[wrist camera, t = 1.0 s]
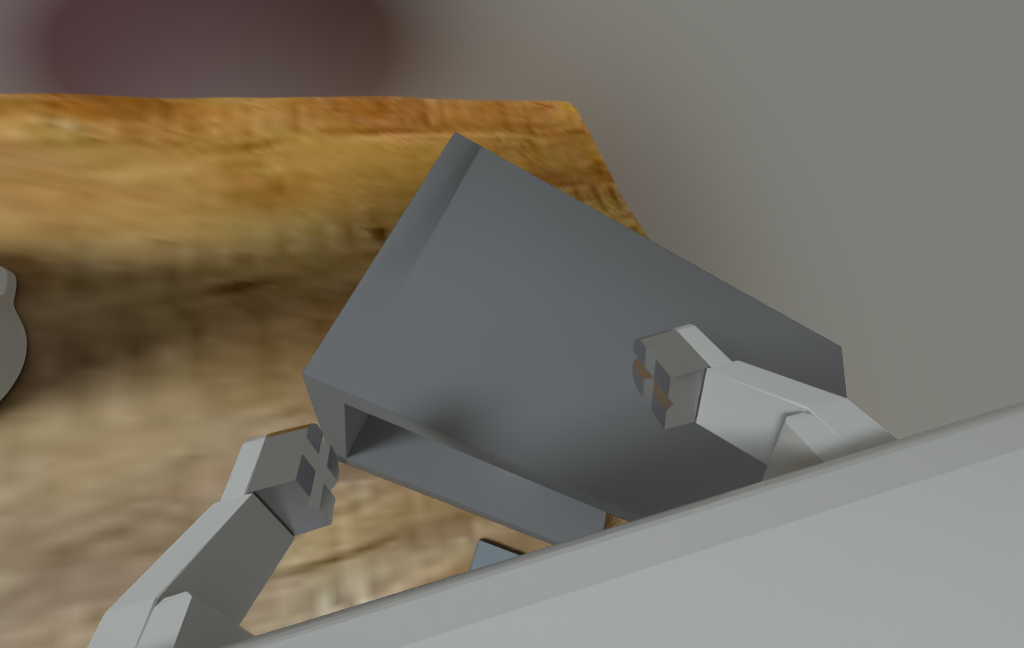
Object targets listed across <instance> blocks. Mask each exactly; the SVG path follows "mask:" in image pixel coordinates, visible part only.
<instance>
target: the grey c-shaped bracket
mask: <svg viewBox="0 0 1024 648" xmlns="http://www.w3.org/2000/svg"><path fill="white" fill-rule="evenodd" d="M687 324H692V325H695V326H696V327H697V328H698V329H699V330H700V331H701V332H702V333H703V334H704V335H705V336H706V337H707V338H708V339H709V340H710V341H711V342H712V343H713V344H714V345H716V346H717V347H718V348H719V349H720V350H721V351H722V352H723V353H724V354H725V355H726V356H727V357H728V358H729V359H730V360H731V361H732V362H733V361H737V360H738V361H741V362H744V363H747V364H750V365H753V366H756V367H758V368H761V369H764V370H767V371H770V372H773V373H776V374H778V375H781V376H784V377H787V378H790V379H793V380H796V381H798V382H801V383H804V384H807V385H810V386H813V387H816V388H818V389H821V390H824V391H827V392H830V393H833V394H836V395H838V396H841V397H844V398H847V396H846V386H845V377H844V367H843V358H842V348H841V346H839V345H837V344H835V343H834V342H832V341H830V340H828V339H826V338H825V337H823V336H821V335H819V334H817V333H816V332H814V331H812V330H810V329H809V328H807V327H805V326H803V325H801V324H800V323H798V322H796V321H794V320H792V319H791V318H788V317H787V316H785V315H783V314H782V313H780V312H778V311H776V310H774V309H772V308H771V307H769V306H767V305H765V304H764V303H762V302H760V301H758V300H756V299H755V298H753V297H751V296H749V295H747V294H746V293H744V292H742V291H740V290H738V289H736V288H735V287H733V286H731V285H729V284H728V283H726V282H724V281H722V280H720V279H719V278H717V277H715V276H713V275H711V274H710V273H708V272H706V271H704V270H702V269H701V268H699V267H697V266H695V265H694V264H692V263H690V262H688V261H686V260H684V259H683V258H681V257H679V256H677V255H676V254H674V253H672V252H670V251H668V250H666V249H665V248H663V247H661V246H659V245H658V244H656V243H654V242H652V241H650V240H649V239H647V238H645V237H643V236H641V235H640V234H638V233H636V232H634V231H632V230H631V229H629V228H627V227H625V226H623V225H622V224H620V223H618V222H616V221H614V220H613V219H611V218H609V217H607V216H605V215H604V214H602V213H600V212H598V211H596V210H595V209H593V208H591V207H589V206H587V205H586V204H584V203H582V202H580V201H579V200H577V199H575V198H573V197H571V196H570V195H568V194H566V193H564V192H562V191H561V190H559V189H557V188H555V187H553V186H552V185H550V184H548V183H546V182H544V181H543V180H541V179H539V178H537V177H535V176H534V175H532V174H530V173H528V172H526V171H525V170H523V169H521V168H519V167H517V166H516V165H514V164H512V163H510V162H508V161H507V160H505V159H503V158H501V157H499V156H498V155H496V154H494V153H492V152H490V151H489V150H487V149H485V148H483V147H481V146H480V145H478V144H476V143H474V142H472V141H471V140H469V139H467V138H465V137H464V136H462V135H460V134H458V133H456V132H455V133H454V134H453V136H452V137H451V139H450V141H449V142H448V144H447V145H446V147H445V148H444V150H443V152H442V153H441V155H440V156H439V158H438V159H437V161H436V163H435V164H434V166H433V167H432V169H431V171H430V172H429V174H428V175H427V177H426V178H425V180H424V182H423V183H422V185H421V186H420V188H419V189H418V191H417V193H416V194H415V196H414V197H413V199H412V200H411V202H410V204H409V205H408V207H407V208H406V210H405V212H404V213H403V215H402V216H401V218H400V219H399V221H398V223H397V224H396V226H395V227H394V229H393V230H392V232H391V234H390V235H389V237H388V238H387V240H386V242H385V243H384V245H383V246H382V248H381V249H380V251H379V253H378V254H377V256H376V257H375V259H374V260H373V262H372V264H371V265H370V267H369V268H368V270H367V272H366V273H365V275H364V276H363V278H362V279H361V281H360V283H359V284H358V286H357V287H356V289H355V290H354V292H353V294H352V295H351V297H350V298H349V300H348V301H347V303H346V305H345V306H344V308H343V309H342V311H341V313H340V314H339V316H338V317H337V319H336V320H335V322H334V324H333V325H332V327H331V328H330V330H329V331H328V333H327V335H326V336H325V338H324V339H323V341H322V343H321V344H320V346H319V347H318V349H317V350H316V352H315V354H314V355H313V357H312V358H311V360H310V361H309V363H308V365H307V366H306V368H305V369H304V371H303V372H302V375H303V378H304V381H305V384H306V387H307V389H308V392H309V395H310V398H311V401H312V404H313V407H314V410H315V413H316V416H317V419H318V422H319V425H320V428H321V431H322V432H323V436H324V439H325V442H326V443H329V444H331V446H332V448H333V449H334V451H335V453H336V456H337V459H338V461H340V462H343V463H345V464H348V465H350V466H353V467H355V468H358V469H361V470H363V471H366V472H368V473H371V474H373V475H376V476H378V477H381V478H384V479H386V480H389V481H391V482H394V483H396V484H399V485H402V486H404V487H407V488H409V489H412V490H414V491H417V492H419V493H422V494H425V495H427V496H430V497H432V498H435V499H437V500H440V501H443V502H445V503H448V504H450V505H453V506H455V507H458V508H460V509H463V510H466V511H468V512H471V513H473V514H476V515H478V516H481V517H483V518H486V519H489V520H491V521H494V522H496V523H499V524H501V525H504V526H507V527H509V528H512V529H514V530H517V531H519V532H522V533H524V534H527V535H530V536H532V537H535V538H537V539H540V540H542V541H545V542H547V543H550V544H553V545H555V544H559V543H562V542H565V541H569V540H572V539H575V538H578V537H582V536H585V535H588V534H591V533H595V532H598V531H601V530H603V529H604V523H605V518H606V512H607V513H609V514H611V515H614V516H616V517H619V518H621V519H623V520H626V521H628V522H631V521H634V520H637V519H640V518H644V517H647V516H650V515H654V514H657V513H660V512H663V511H667V510H670V509H673V508H676V507H680V506H683V505H686V504H690V503H693V502H696V501H699V500H703V499H706V498H709V497H712V496H716V495H719V494H722V493H726V492H729V491H732V490H735V489H739V488H742V487H745V486H748V485H752V484H755V483H758V482H761V481H762V478H763V476H764V473H765V471H766V468H767V465H766V464H764V463H763V462H761V461H759V460H758V459H756V458H754V457H753V456H751V455H749V454H748V453H746V452H744V451H743V450H741V449H739V448H738V447H736V446H734V445H732V444H731V443H729V442H727V441H726V440H724V439H722V438H721V437H719V436H717V435H716V434H714V433H712V432H711V431H709V430H707V429H706V428H704V427H702V426H700V425H699V424H697V423H696V421H695V422H691V423H687V424H683V425H679V426H676V427H672V428H668V429H664V428H663V427H662V425H661V424H660V422H659V421H658V419H657V418H656V416H655V415H654V413H653V412H652V411H651V405H652V402H651V401H649V400H647V399H645V398H643V397H642V396H641V394H640V393H639V391H638V389H637V387H636V385H635V382H634V378H633V374H632V363H633V362H634V361H635V359H636V358H637V356H636V354H635V353H634V352H633V343H634V341H635V339H636V338H640V337H644V336H648V335H651V334H655V333H659V332H662V331H666V330H671V329H673V328H676V327H680V326H684V325H687Z"/></svg>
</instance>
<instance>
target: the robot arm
mask: <svg viewBox="0 0 1024 648" xmlns="http://www.w3.org/2000/svg"><path fill="white" fill-rule="evenodd" d="M16 284H17V282H16V276H15V275H14V273H13V272H11V271H9V270H8V269H6V268H4V267H2V266H0V401H1V400H2V398H3V397H4V396H5V395H6V394H7V393H8V391H9V390H10V389H11V387H12V386H13V384H14V383H15V381H16V380H17V378H18V376H19V374H20V372H21V369H22V367H23V364H24V361H25V357H26V350H27V339H26V333H25V329H24V327H23V324H22V322H21V320H20V318H19V316H18V314H17V312H16V310H15V307H14V303H13V302H14V298H15V292H16ZM633 352H634V353H635V354H636V356H637V358H636V359H635V361H634V362H633V363H632V374H633V378H634V382H635V385H636V387H637V389H638V391H639V393H640V394H641V396H642V397H643V398H645V399H647V400H649V401H651V402H652V405H651V411H652V412H653V413H654V415H655V416H656V418H657V419H658V421H659V422H660V424H661V425H662V427H663V428H664V429H668V428H672V427H676V426H679V425H683V424H687V423H691V422H695V421H696V423H697V424H699V425H700V426H702V427H704V428H706V429H707V430H709V431H711V432H712V433H714V434H716V435H717V436H719V437H721V438H722V439H724V440H726V441H727V442H729V443H731V444H732V445H734V446H736V447H738V448H739V449H741V450H743V451H744V452H746V453H748V454H749V455H751V456H753V457H754V458H756V459H758V460H759V461H761V462H763V463H764V464H766V465H767V468H766V471H765V473H764V476H763V478H762V481H761V482H758V483H755V484H752V485H748V486H745V487H742V488H739V489H735V490H732V491H729V492H726V493H722V494H719V495H716V496H712V497H709V498H706V499H703V500H699V501H696V502H693V503H690V504H686V505H683V506H680V507H676V508H673V509H670V510H667V511H663V512H660V513H657V514H654V515H650V516H647V517H644V518H640V519H637V520H634V521H631V522H627V523H624V524H621V525H618V526H614V527H611V528H608V529H604V530H601V531H598V532H595V533H591V534H588V535H585V536H582V537H578V538H575V539H572V540H569V541H565V542H562V543H559V544H555V545H552V546H549V547H546V548H542V549H539V550H536V551H533V552H529V553H526V554H523V555H520V556H516V557H513V558H510V559H507V560H503V561H500V562H497V563H494V564H490V565H487V566H484V567H481V568H477V569H474V570H471V571H467V572H464V573H461V574H458V575H454V576H451V577H448V578H445V579H441V580H438V581H435V582H432V583H428V584H425V585H422V586H419V587H415V588H412V589H409V590H405V591H402V592H399V593H396V594H392V595H389V596H386V597H383V598H379V599H376V600H373V601H369V602H366V603H363V604H360V605H356V606H353V607H350V608H347V609H343V610H340V611H337V612H333V613H330V614H327V615H324V616H320V617H317V618H314V619H311V620H307V621H304V622H301V623H297V624H294V625H291V626H288V627H284V628H281V629H278V630H275V631H271V632H268V633H265V634H261V635H258V636H254V635H253V634H251V633H250V632H248V631H247V630H245V629H244V628H242V627H241V626H239V624H240V623H241V621H242V620H243V618H244V617H245V615H246V613H247V612H248V610H249V609H250V607H251V606H252V604H253V602H254V601H255V599H256V598H257V596H258V595H259V593H260V592H261V590H262V588H263V587H264V585H265V584H266V582H267V581H268V579H269V577H270V576H271V574H272V573H273V571H274V570H275V568H276V567H277V565H278V563H279V562H280V560H281V559H282V557H283V556H284V554H285V552H286V551H287V549H288V548H289V546H290V545H291V543H292V542H293V540H294V538H295V537H294V536H296V535H299V534H302V533H305V532H309V531H312V530H315V529H318V528H321V527H325V526H328V525H331V523H332V516H333V509H334V502H335V497H334V496H333V495H332V493H331V492H330V491H331V489H332V488H333V487H334V486H335V484H336V483H337V482H338V473H339V468H338V459H337V456H336V453H335V451H334V449H333V448H332V446H331V444H329V443H326V442H324V441H321V440H322V435H323V432H322V431H321V429H320V428H319V427H318V425H317V424H312V423H311V424H307V425H303V426H299V427H295V428H290V429H286V430H282V431H278V432H274V433H270V434H267V435H263V436H259V437H254V438H250V439H248V440H247V441H246V442H245V443H244V444H243V445H242V448H241V450H240V453H239V455H238V458H237V460H236V463H235V465H234V468H233V470H232V473H231V476H230V478H229V481H228V483H227V486H226V488H225V491H224V493H223V496H222V498H221V501H220V502H217V503H214V504H212V505H211V506H210V507H209V508H208V509H207V510H206V511H205V512H204V513H203V514H202V515H201V517H200V518H199V519H198V520H197V521H196V522H195V523H194V524H193V525H192V526H191V527H190V528H189V529H188V530H187V531H186V532H185V533H184V534H183V535H182V536H181V537H180V538H179V539H178V540H177V541H176V542H175V543H174V544H173V545H172V546H171V547H170V548H169V549H168V550H167V551H166V552H165V553H164V554H163V555H162V556H161V557H160V558H159V559H158V560H157V561H156V562H155V563H154V564H153V565H152V566H151V567H150V568H149V569H148V570H147V571H146V572H145V573H144V574H143V575H142V576H141V577H140V578H139V579H138V580H137V581H136V582H135V583H134V584H133V585H132V586H131V587H130V588H129V589H128V590H127V591H126V592H125V593H124V594H123V595H122V596H121V597H120V598H119V599H118V600H117V601H116V602H115V603H114V604H113V605H112V606H111V607H110V608H109V609H108V610H107V612H106V613H105V614H104V616H103V618H102V620H101V622H100V624H99V626H98V628H97V629H96V631H95V633H94V635H93V637H92V639H91V641H90V643H89V645H88V647H87V648H1024V401H1023V402H1020V403H1016V404H1013V405H1010V406H1007V407H1003V408H1001V409H997V410H993V411H990V412H987V413H984V414H980V415H977V416H974V417H971V418H967V419H964V420H961V421H958V422H955V423H951V424H948V425H945V426H941V427H938V428H935V429H932V430H928V431H925V432H922V433H918V434H915V435H912V436H909V437H905V438H902V439H899V440H897V439H896V438H895V437H893V436H892V435H891V434H890V433H889V432H887V431H886V430H885V429H884V428H882V427H881V426H880V425H879V424H877V423H876V422H875V421H874V420H873V419H871V418H870V417H869V416H868V415H866V414H865V413H864V412H863V411H861V410H860V409H859V408H858V407H856V406H855V405H854V404H853V403H852V402H850V401H849V400H848V399H847V398H844V397H841V396H838V395H836V394H833V393H830V392H827V391H824V390H821V389H818V388H816V387H813V386H810V385H807V384H804V383H801V382H798V381H796V380H793V379H790V378H787V377H784V376H781V375H778V374H776V373H773V372H770V371H767V370H764V369H761V368H758V367H756V366H753V365H750V364H747V363H744V362H741V361H738V360H737V361H733V362H732V361H731V360H730V359H729V358H728V357H727V356H726V355H725V354H724V353H723V352H722V351H721V350H720V349H719V348H718V347H717V346H716V345H714V344H713V343H712V342H711V341H710V340H709V339H708V338H707V337H706V336H705V335H704V334H703V333H702V332H701V331H700V330H699V329H698V328H697V327H696V326H695V325H692V324H687V325H684V326H680V327H676V328H673V329H671V330H666V331H662V332H659V333H655V334H651V335H648V336H644V337H640V338H636V339H635V341H634V343H633Z"/></svg>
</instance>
